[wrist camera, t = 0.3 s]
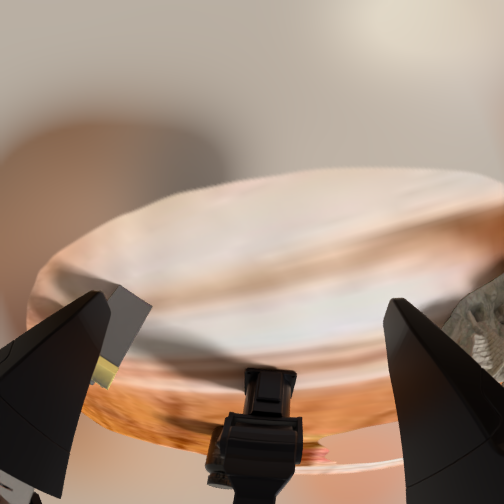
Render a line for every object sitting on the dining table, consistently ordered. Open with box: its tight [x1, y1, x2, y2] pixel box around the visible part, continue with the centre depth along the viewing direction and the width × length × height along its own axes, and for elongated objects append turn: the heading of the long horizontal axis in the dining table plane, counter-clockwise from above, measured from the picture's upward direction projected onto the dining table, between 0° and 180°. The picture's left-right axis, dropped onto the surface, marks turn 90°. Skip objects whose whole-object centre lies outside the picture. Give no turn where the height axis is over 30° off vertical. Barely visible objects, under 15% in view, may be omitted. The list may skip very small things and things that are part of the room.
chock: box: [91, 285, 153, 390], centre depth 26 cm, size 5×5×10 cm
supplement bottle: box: [205, 427, 233, 489], centre depth 39 cm, size 7×7×12 cm
